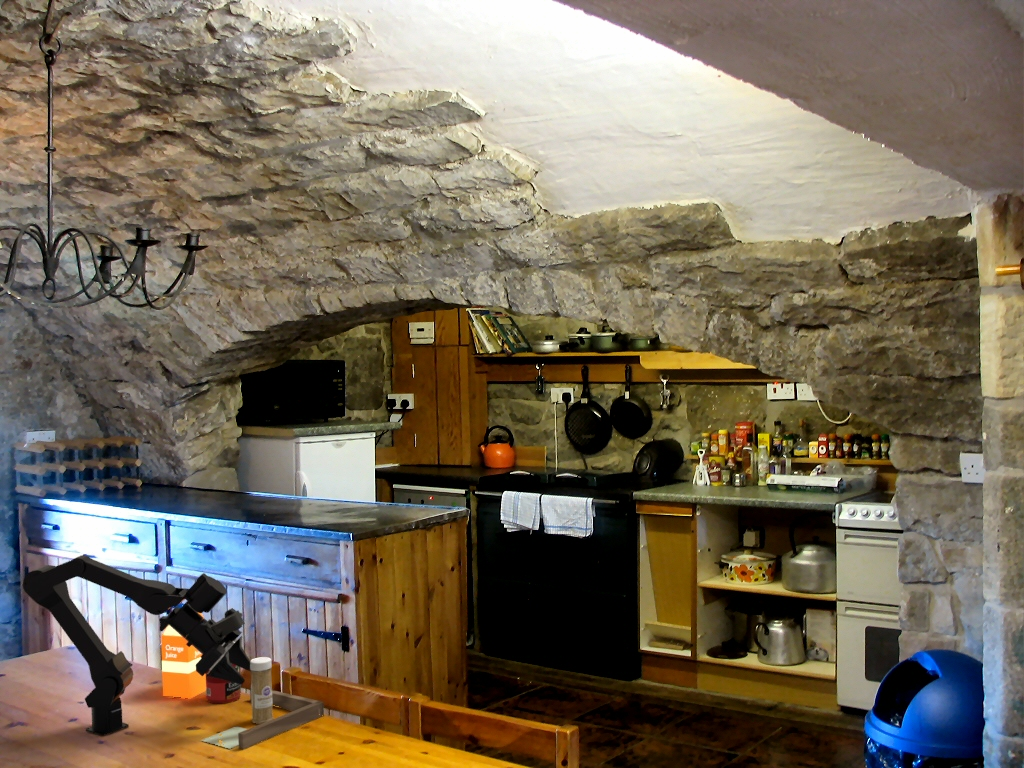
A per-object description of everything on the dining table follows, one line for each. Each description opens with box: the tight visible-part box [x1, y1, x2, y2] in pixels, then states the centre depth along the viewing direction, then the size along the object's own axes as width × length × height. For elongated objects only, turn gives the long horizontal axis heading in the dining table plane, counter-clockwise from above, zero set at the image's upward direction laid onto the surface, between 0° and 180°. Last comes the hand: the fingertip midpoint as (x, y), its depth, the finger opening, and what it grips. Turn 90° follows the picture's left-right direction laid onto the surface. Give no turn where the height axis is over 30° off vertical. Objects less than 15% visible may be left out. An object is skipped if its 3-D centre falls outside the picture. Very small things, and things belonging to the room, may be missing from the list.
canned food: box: [205, 663, 242, 704], centre depth 223 cm, size 8×8×11 cm
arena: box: [200, 687, 325, 750], centre depth 206 cm, size 22×24×3 cm
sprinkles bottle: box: [250, 656, 274, 725], centre depth 207 cm, size 5×5×14 cm
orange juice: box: [160, 613, 206, 700], centre depth 229 cm, size 8×9×20 cm
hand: (248, 676), depth 207 cm, fingers open, 9 cm apart
